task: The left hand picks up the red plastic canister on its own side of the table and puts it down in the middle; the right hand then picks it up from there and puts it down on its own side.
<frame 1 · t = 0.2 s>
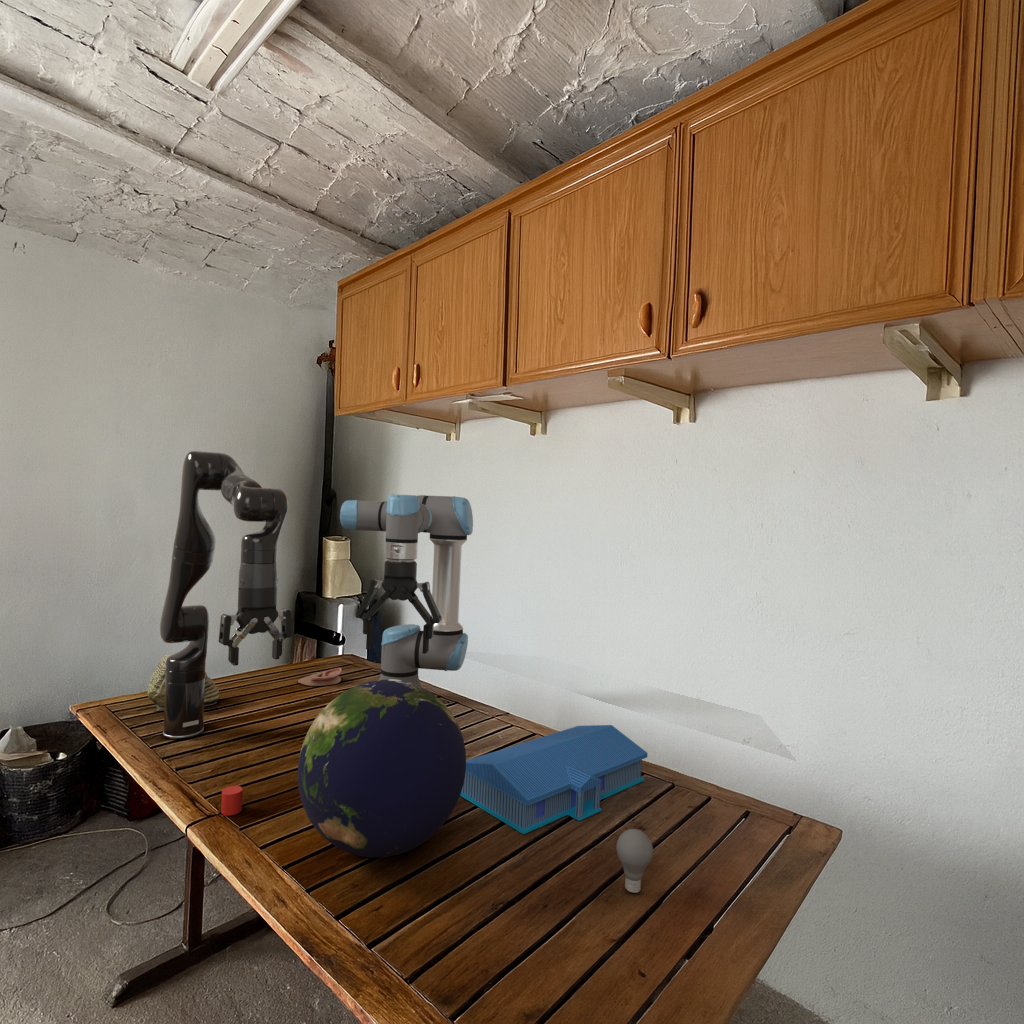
left hand: (255, 661, 132), 29 cm above the table, tool pointing down, fingers open, 8 cm apart
right hand: (397, 650, 149), 28 cm above the table, tool pointing down, fingers open, 13 cm apart
globe: (380, 846, 116), on the table
anatomical model: (319, 681, 215), on the table
light bulb: (632, 891, 106), on the table
canister: (231, 810, 126), on the table
fossil: (183, 706, 185), on the table
model building: (559, 790, 142), on the table
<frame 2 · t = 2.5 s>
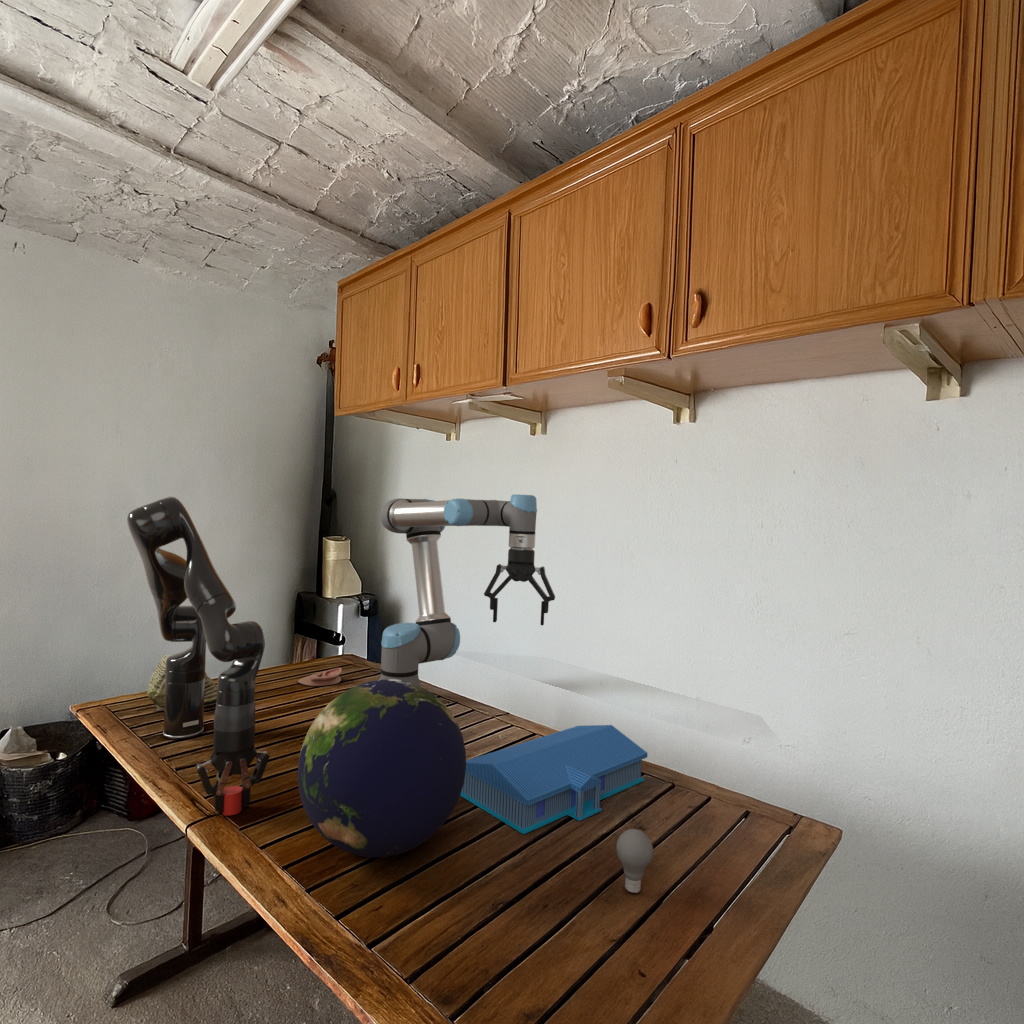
left hand: (231, 808, 126), 1 cm above the table, tool pointing down, fingers closed on canister, 3 cm apart
right hand: (518, 623, 181), 29 cm above the table, tool pointing down, fingers open, 13 cm apart
canister: (231, 810, 126), on the table, touching left hand
everything else where it was.
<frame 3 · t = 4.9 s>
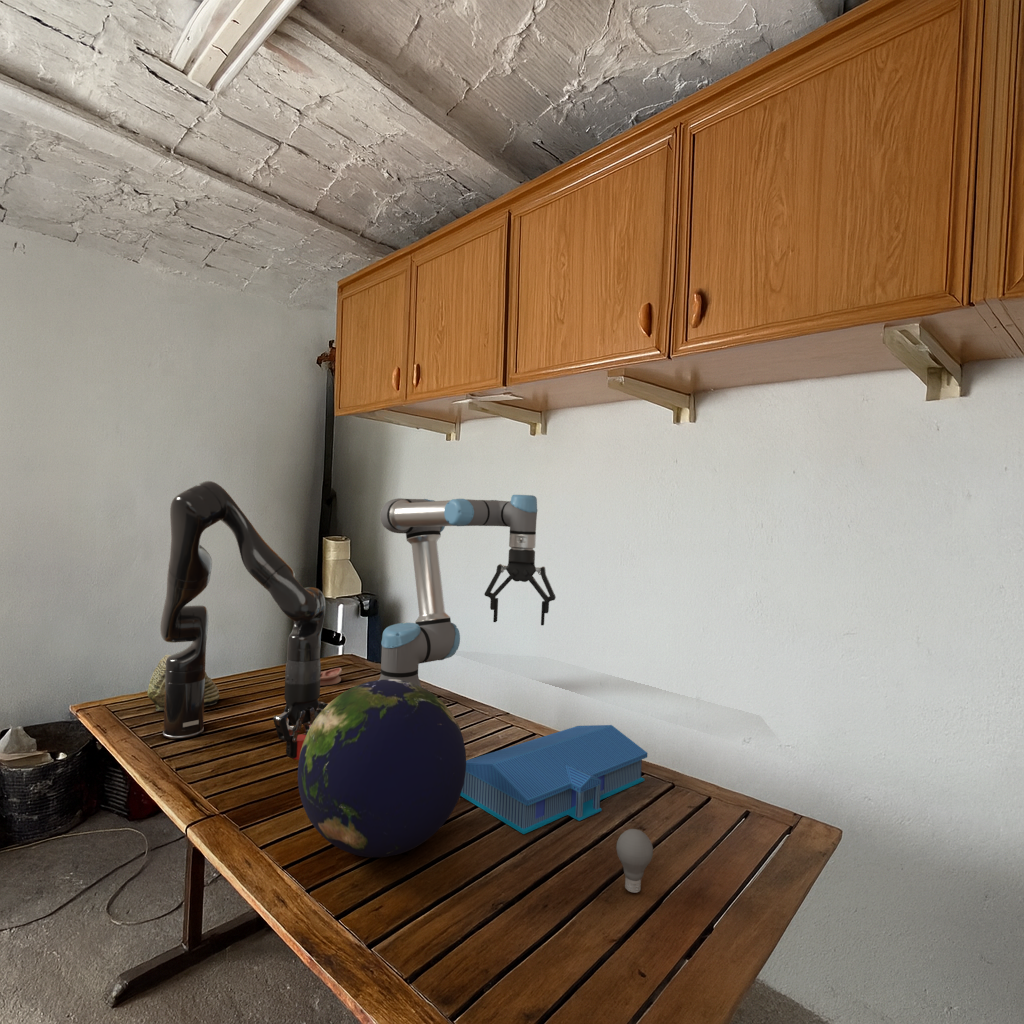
left hand: (300, 753, 142), 6 cm above the table, tool pointing down, fingers closed on canister, 3 cm apart
right hand: (518, 623, 181), 29 cm above the table, tool pointing down, fingers open, 13 cm apart
canister: (299, 756, 142), point 5 cm above the table, touching left hand
everything else where it was.
when the left hand's fingers open (1 cm above the table, at t = 7.1 s): canister stays where it is, on the table.
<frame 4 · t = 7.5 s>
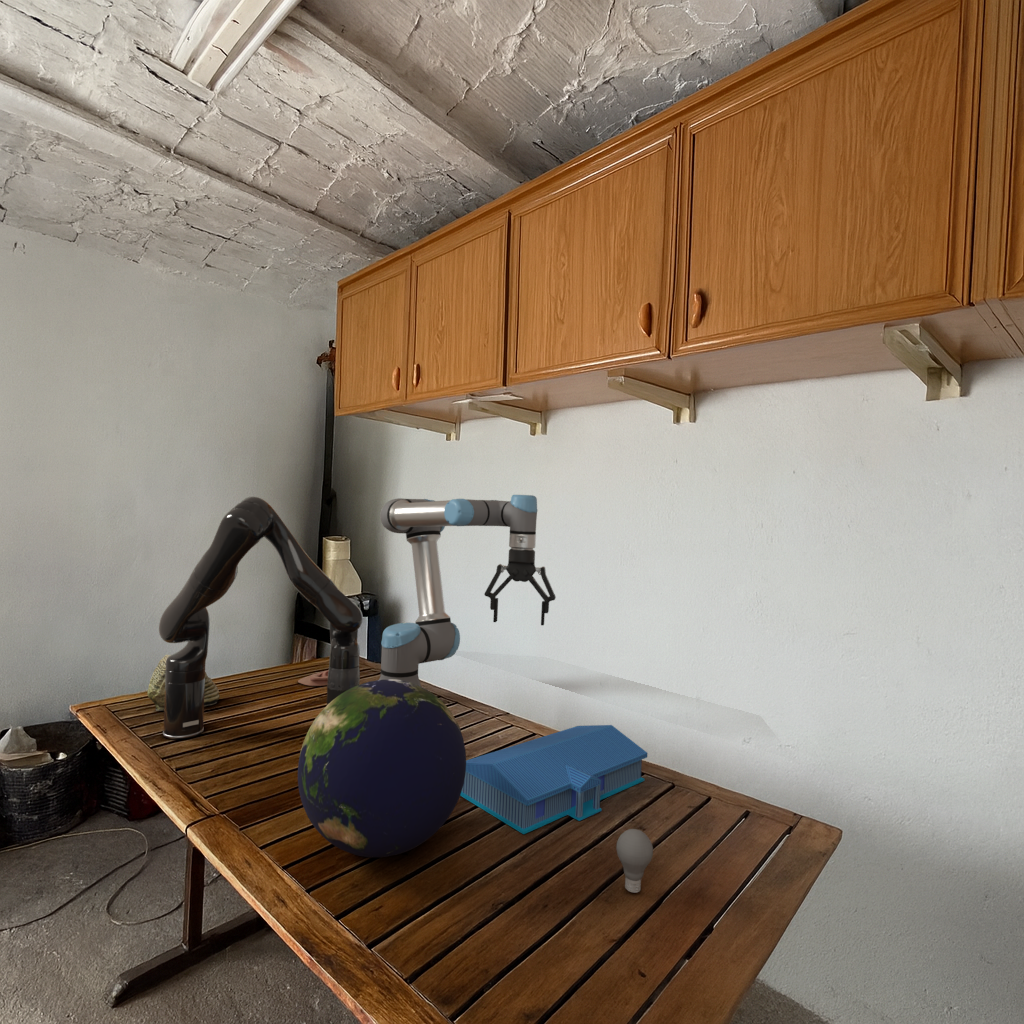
left hand: (340, 751, 153), 2 cm above the table, tool pointing down, fingers open, 7 cm apart
right hand: (518, 623, 181), 29 cm above the table, tool pointing down, fingers open, 13 cm apart
canister: (340, 759, 153), on the table
everything else where it was.
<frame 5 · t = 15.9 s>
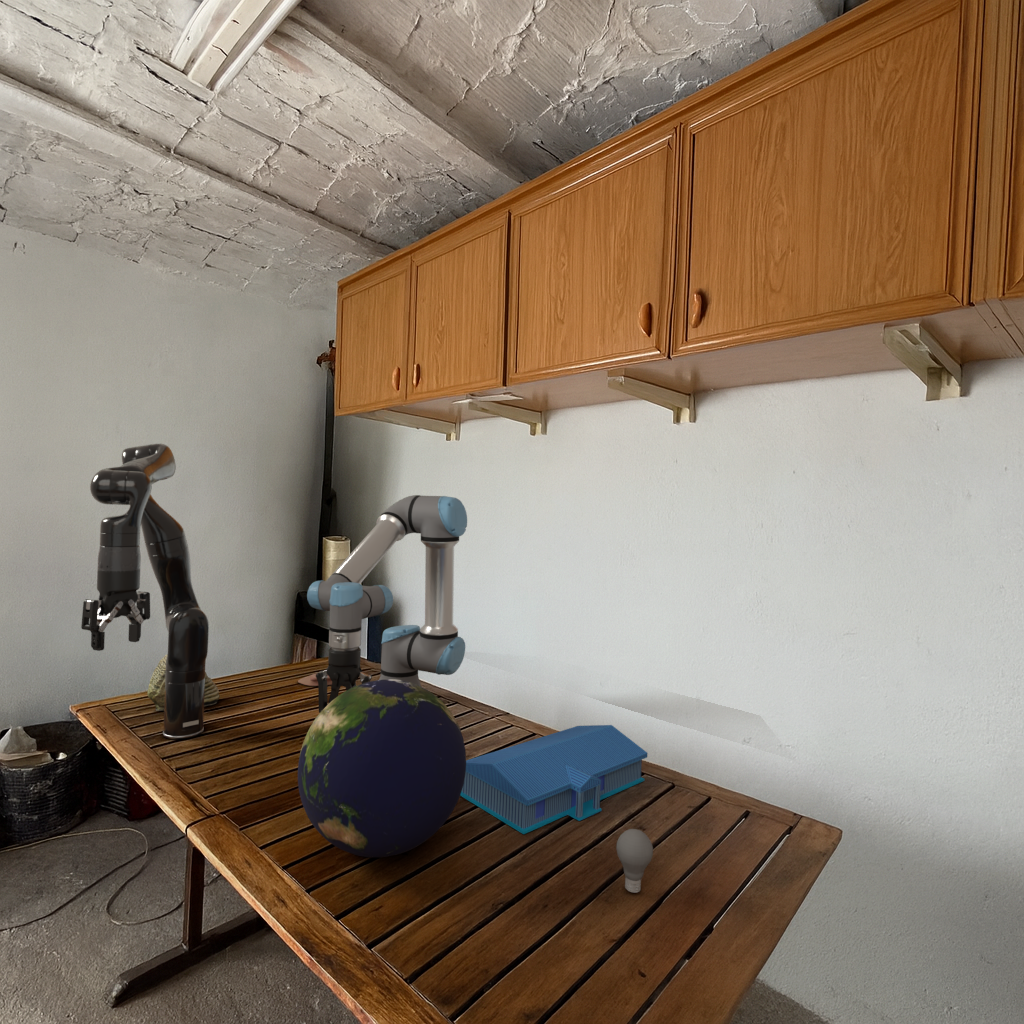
left hand: (116, 645, 131), 31 cm above the table, tool pointing down, fingers open, 8 cm apart
right hand: (341, 743, 153), 4 cm above the table, tool pointing down, fingers closed on canister, 4 cm apart
canister: (341, 744, 153), point 4 cm above the table, touching right hand
everything else where it was.
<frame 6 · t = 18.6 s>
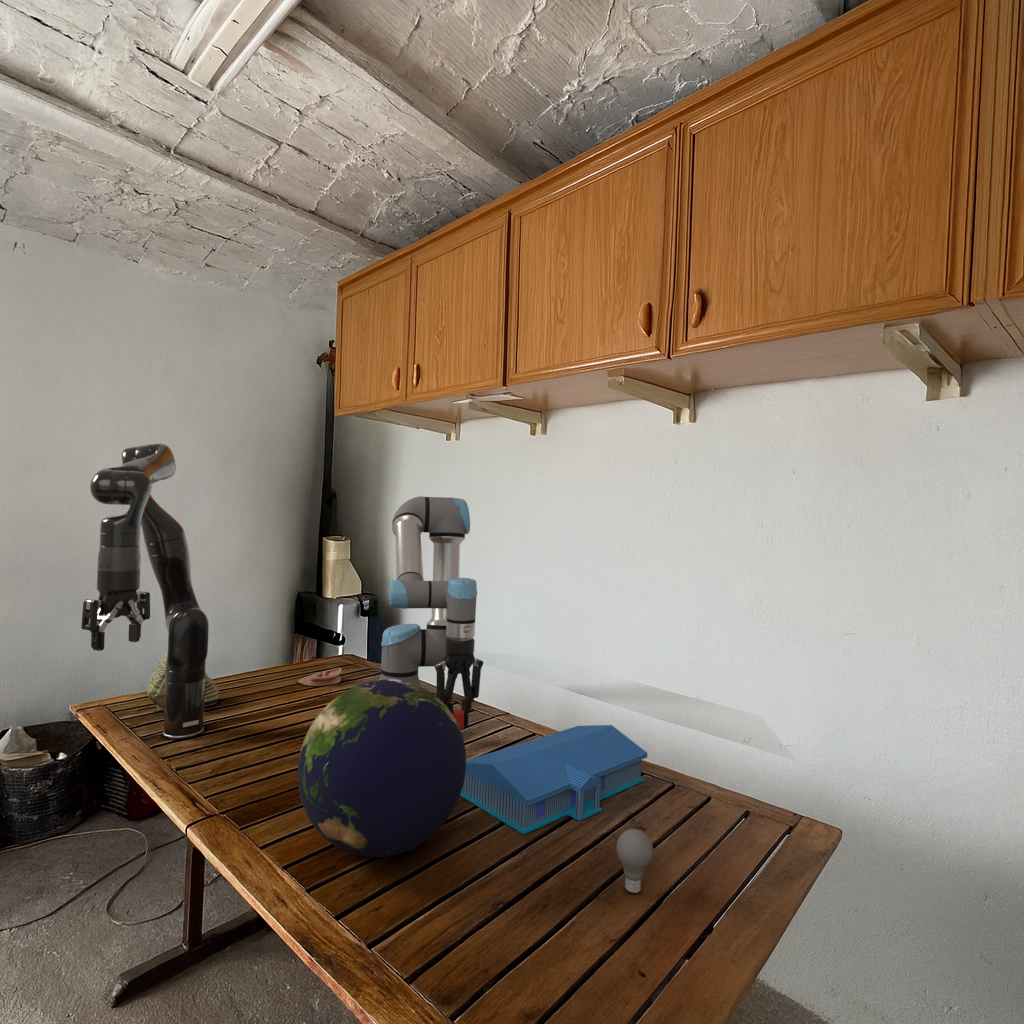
left hand: (116, 645, 131), 31 cm above the table, tool pointing down, fingers open, 8 cm apart
right hand: (456, 726, 166), 5 cm above the table, tool pointing down, fingers closed on canister, 4 cm apart
canister: (456, 727, 166), point 4 cm above the table, touching right hand
everything else where it was.
when the right hand's fingers open (0 cm above the table, at t = 21.6 s): canister stays where it is, on the table.
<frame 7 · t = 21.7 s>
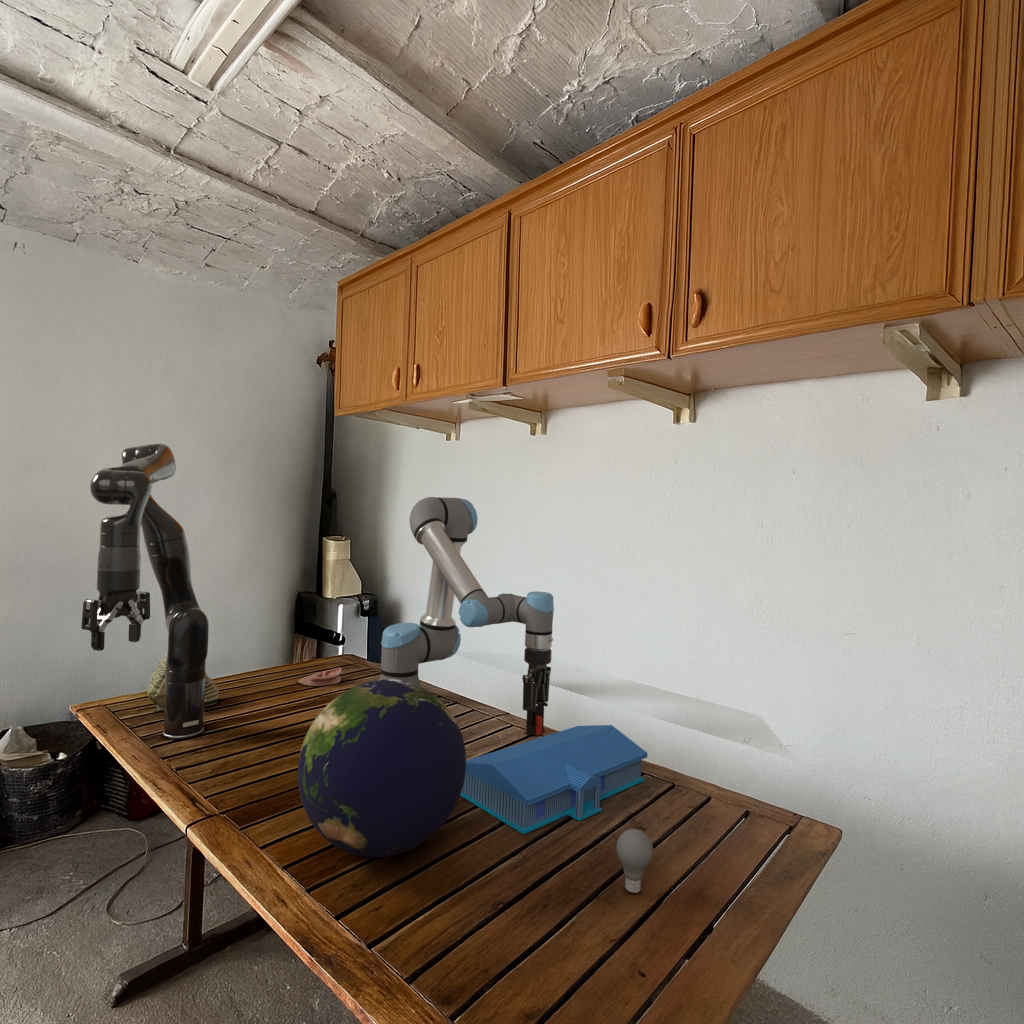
left hand: (116, 645, 131), 31 cm above the table, tool pointing down, fingers open, 8 cm apart
right hand: (534, 731, 176), 0 cm above the table, tool pointing down, fingers open, 4 cm apart
canister: (534, 732, 176), on the table
everything else where it was.
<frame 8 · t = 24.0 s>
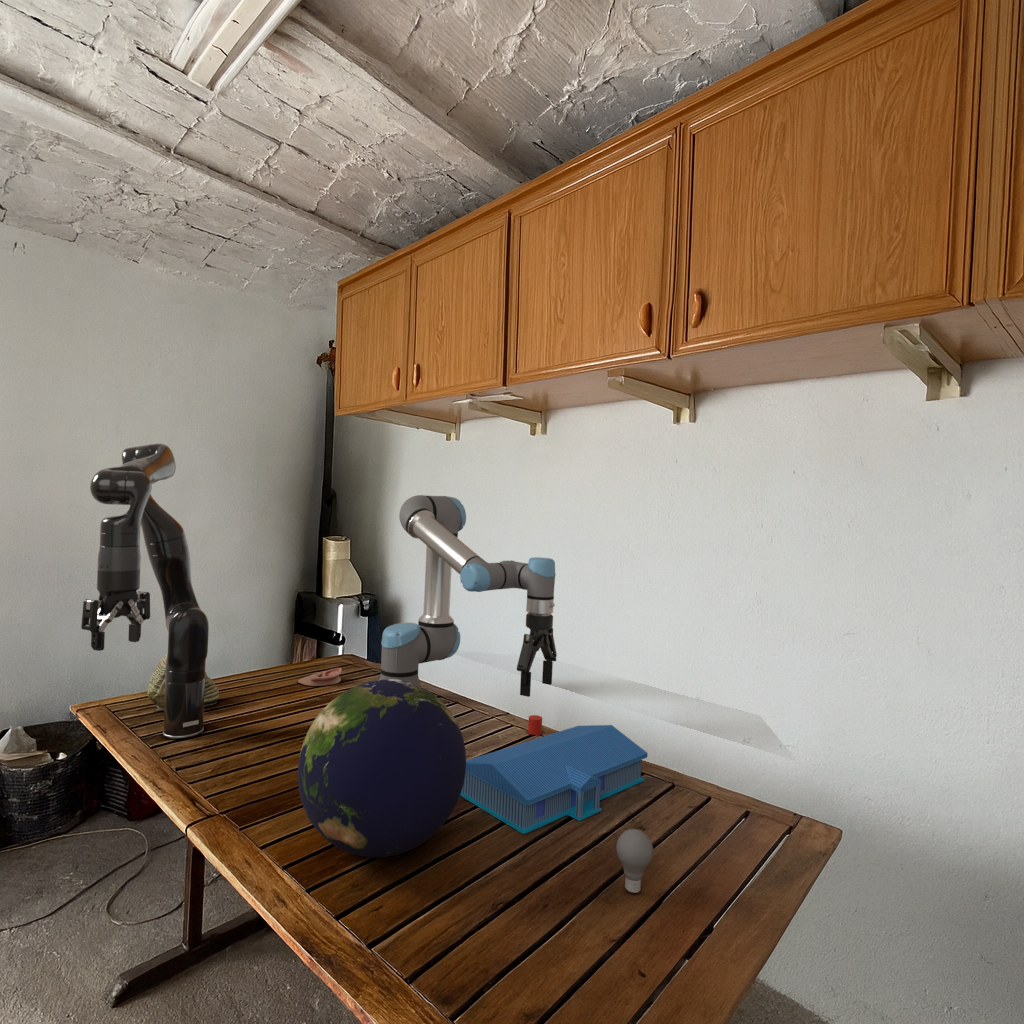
left hand: (116, 645, 131), 31 cm above the table, tool pointing down, fingers open, 8 cm apart
right hand: (536, 689, 176), 12 cm above the table, tool pointing down, fingers open, 13 cm apart
nothing on the table moved.
at the end: canister inside the target area (0.1 cm from its centre), on the table; canister tilted 0°; the two hands never held the canister at the same time; the left hand is holding nothing; the right hand is holding nothing; canister at rest at the end (0.0 cm/s) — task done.
